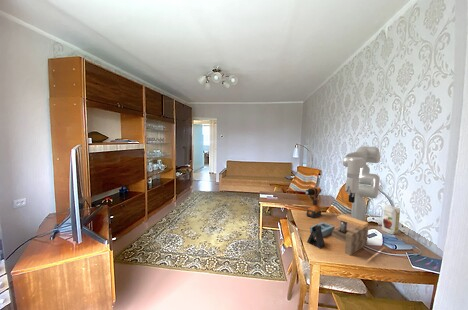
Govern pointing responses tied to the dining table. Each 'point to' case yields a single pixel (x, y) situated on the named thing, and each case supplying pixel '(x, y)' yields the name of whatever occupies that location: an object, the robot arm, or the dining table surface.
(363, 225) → the bar
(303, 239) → the dining table surface
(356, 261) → the dining table surface
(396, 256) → the dining table surface
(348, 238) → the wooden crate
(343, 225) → the drill bit
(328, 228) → the rack
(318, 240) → the black a-frame stand
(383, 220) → the juice carton
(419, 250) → the dining table surface
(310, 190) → the power drill
